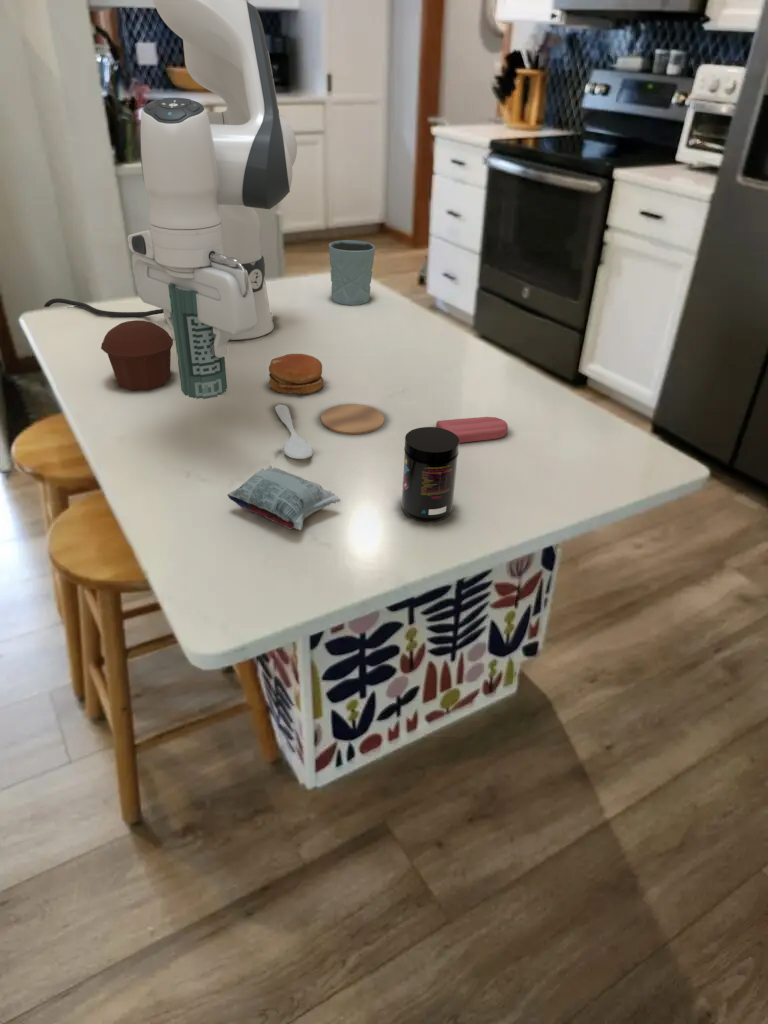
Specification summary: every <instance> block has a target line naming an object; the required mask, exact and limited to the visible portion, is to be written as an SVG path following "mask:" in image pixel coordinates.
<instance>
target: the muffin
mask: <svg viewBox="0 0 768 1024" xmlns="http://www.w3.org/2000/svg"><path fill="white" fill-rule="evenodd" d="M173 345H174V340H173V337H172V335H170V333H169V332H168V331H167V330H166V329H164V328H163V327H161V326H160V325H158V324H156V323H154V322H152V321H149V320H148V321H147V320H142V319H141V320H139V319H137V320H136V319H135V320H127V321H123V322H120V323H119V324H117V325H115V326H114V327H112V328H110V329H109V330H108V331H107V332H106V334H105V336H104V337H103V340H102V342H101V345H100V350H102V351H103V352H104V353H106V355H107V357H108V361H109V362H110V366H111V369H112V371H113V374H114V378H115V379H116V382H117V384H118V386H119V388H123V389H127V390H130V391H151V390H153V389H157V388H160V387H164V386H165V385H166V384H167V383H168V382H169V381H170V380H171V364H172V363H171V356H172V348H173Z"/></svg>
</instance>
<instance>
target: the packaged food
mask: <svg viewBox="0 0 768 1024" xmlns="http://www.w3.org/2000/svg"><path fill="white" fill-rule="evenodd" d="M227 497H228V498H229V500H230V501H232V502H234V503H235V504H237V506H239V507H240V508H241V509H244V510H247V511H249V512H252V513H254V514H257V515H260V516H262V517H265V518H266V519H267V520H270V521H272V522H274V523H277V524H278V525H280V526H282V527H284V528H287V529H290V530H292V529H296V530H299V532H300V531H302V530H303V527H304V526H303V525H304V521H305V519H307V518H308V517H309V516H312V515H313V514H315V513H316V512H317V511H319V510H322V509H323V508H326V507H329V506H330V505H332V504H336V503H340V502H341V498H340V497H339V496H338V495H336V494H335V493H334V492H332V491H331V490H327V489H324V488H323V487H322V485H320V484H319V483H318V482H313V481H310V480H307V479H305V478H303V477H301V476H298V475H296V474H294V473H290V472H287V471H285V470H283V469H280V468H276V467H273V466H272V464H270V465H269V466H268V467H267V468H266V469H265V468H261V469H260V470H258V471H257V472H255V473H254V474H253V475H252V476H251V477H250V478H248V479H247V480H246V481H245V482H244V483H243V484H241V485H240V486H239V487H238V488H236V489H235V490H233V491H231V492H229V493H228V494H227Z"/></svg>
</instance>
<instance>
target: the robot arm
mask: <svg viewBox="0 0 768 1024" xmlns="http://www.w3.org/2000/svg"><path fill="white" fill-rule="evenodd" d="M152 1H153V5H154V8H155V9H156V12H157V14H158V15H159V17H160V18H161V20H162V21H163V22H164V24H165V25H166V26H167V27H168V28H169V29H170V30H171V31H172V33H174V34H175V35H176V36H177V37H179V38H181V39H182V45H183V54H184V55H183V56H184V65H185V68H186V71H187V73H188V75H189V76H190V78H192V80H193V82H195V83H196V84H198V85H199V86H201V87H203V88H204V89H206V90H207V91H210V92H211V93H212V94H215V95H217V96H218V97H220V98H221V99H222V100H223V101H224V102H225V104H226V110H224V111H221V112H219V111H215V112H214V111H207V108H206V107H205V106H204V105H203V104H202V103H200V102H199V101H197V100H193V99H190V98H185V97H163V98H160V99H154V100H151V101H150V102H148V103H146V104H145V105H144V106H143V107H142V109H141V113H140V155H139V156H140V164H141V165H140V166H141V173H142V178H143V183H144V187H145V190H146V192H147V194H148V197H149V203H150V209H149V217H148V220H149V229H146V230H143V231H142V230H141V231H138V232H135V233H132V234H131V233H130V234H129V235H127V244H128V248H129V250H130V251H131V252H132V253H133V254H132V257H131V265H132V273H133V279H134V284H135V290H136V293H137V295H138V297H139V298H140V300H141V302H143V303H145V304H147V305H150V306H153V307H156V308H159V309H154V310H148V311H111V310H110V311H109V310H102V309H98V308H96V307H93V306H91V305H90V304H87V303H84V302H80V301H75V300H70V299H67V298H59V297H58V298H56V297H55V298H51V299H50V300H48V301H46V302H45V304H44V305H43V307H44V308H49V307H51V305H54V304H64V305H65V304H66V305H70V306H74V307H79V308H84V309H86V310H88V311H90V312H92V313H94V314H97V315H100V316H108V317H124V318H126V317H128V318H129V317H133V318H134V317H150V316H154V315H161V314H163V317H164V318H165V321H166V322H167V324H168V327H169V328H170V329H171V337H172V339H173V342H175V335H174V327H173V319H172V311H171V304H170V296H169V288H168V285H170V283H173V284H175V288H178V289H179V290H181V289H182V290H187V291H190V290H193V291H197V292H198V293H197V294H196V301H197V313H198V319H199V322H201V323H203V324H206V325H209V326H212V327H213V333H214V334H216V338H215V341H214V342H212V343H210V349H211V351H210V353H211V355H213V356H216V357H219V358H221V357H226V356H227V355H228V342H229V341H230V340H231V341H232V340H233V341H234V340H235V341H236V340H237V341H238V340H249V339H255V338H259V337H263V336H265V335H267V334H270V333H271V332H272V331H273V330H274V328H275V326H274V322H273V320H274V314H273V312H272V311H271V308H270V301H269V294H268V289H267V288H268V287H267V283H266V281H265V276H266V262H265V257H264V255H262V235H261V221H260V217H259V215H258V213H257V211H256V210H255V209H263V210H271V209H273V208H274V207H275V206H277V205H278V204H279V203H281V202H282V201H283V199H285V198H286V197H287V196H288V195H289V193H290V192H291V186H292V183H293V166H294V165H295V162H296V159H297V153H298V146H297V137H296V135H295V132H294V130H293V128H292V127H291V125H290V124H289V122H288V121H287V120H286V119H285V118H284V117H283V116H281V115H280V109H279V103H278V98H277V97H278V96H277V93H276V87H275V86H276V85H275V79H274V75H273V69H272V64H271V63H272V62H271V58H270V52H269V49H268V46H267V39H266V33H265V29H264V25H263V21H262V19H261V16H260V14H259V11H258V9H257V7H256V6H255V5H253V4H251V3H250V2H249V1H250V0H152Z"/></svg>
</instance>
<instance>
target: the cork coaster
mask: <svg viewBox="0 0 768 1024" xmlns="http://www.w3.org/2000/svg"><path fill="white" fill-rule="evenodd" d="M320 422H321V424H322V425H323V427H325V428H327V430H330V431H332V432H335V433H338V434H343V435H363V434H368V433H371V432H375V431H376V430H378V429H380V428H381V427H382V426H383V424H384V422H385V417H384V415H383V413H382V412H381V411H380V410H378V409H376V408H375V407H371V406H369V405H363V404H354V403H353V404H352V403H351V404H350V403H349V404H339V405H336V406H331V407H329V408H328V409H326V410H325V411H324V412H323V413H322V414H321V415H320Z"/></svg>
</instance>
